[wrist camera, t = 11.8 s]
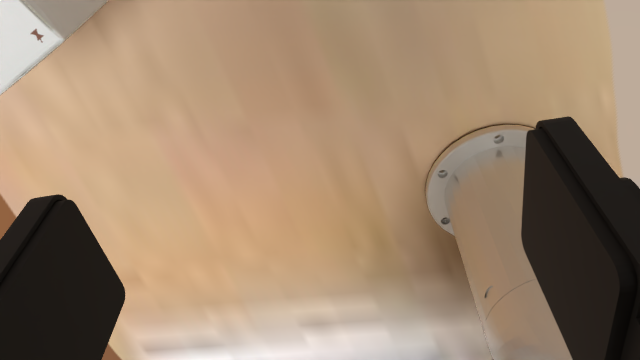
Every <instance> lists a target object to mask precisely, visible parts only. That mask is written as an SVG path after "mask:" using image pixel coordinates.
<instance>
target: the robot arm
mask: <svg viewBox="0 0 640 360" xmlns="http://www.w3.org/2000/svg"><path fill="white" fill-rule="evenodd" d="M425 195H426V200H427V205H428V208H429V211H430V213H431V215H432V217H433V218H434V220H435V221H436V223H437V224H438V225H439V226H440V227H441V228H442V229H444V230H445V231H447V232H448V233H450V234H452V235H454V236H455V238H456V241H457V245H458V248H459V251H460V255H461V258H462V261H463V265H464V268H465V271H466V275H467V278H468V281H469V284H470V288H471V291H472V294H473V298H474V301H475V304H476V308H477V311H478V314H479V318H480V321H481V324H482V327H483V331H484V334H485V337H486V340H487V344H488V347H489V350H490V353H491V355H492V358H493V360H640V189H639V187H638V186H637V185H636V184H635V183H634V182H633V181H632V180H631V179H628V178H619V177H618V176H617V174H616V173H615V172H614V171H613V169H612V168H611V167H610V165H609V164H608V163H607V162H606V160H605V159H604V158H603V157H602V155H601V154H600V153H599V151H598V150H597V149H596V148H595V146H594V145H593V144H592V142H591V141H590V140H589V139H588V137H587V136H586V135H585V134H584V132H583V131H582V130H581V128H580V127H579V126H578V125H577V123H576V122H575V121H574V119H572V118H571V117H563V118H556V119H550V120H543V121H539V122H538V123H537V125H536V129H534V128H530V127H526V126H522V125H499V126H491V127H488V128H484V129H480V130H477V131H475V132H473V133H470V134H468V135H466V136H464V137H462V138H461V139H459V140H458V141H456V142H455V143H453V144H452V145H451V146H450V147H448V148H447V149H446V150H445V151H444V152H443V153H442V154H441V155H440V156H439V158H438V159H437V160H436V162H435V163H434V165H433V167H432V168H431V170H430V172H429V175H428V178H427V182H426V194H425ZM124 300H125V290H124V286H123V284H122V282H121V281H120V279H119V277H118V275H117V274H116V272H115V270H114V269H113V267H112V265H111V264H110V262H109V260H108V258H107V257H106V255H105V253H104V252H103V250H102V248H101V246H100V245H99V243H98V241H97V240H96V238H95V236H94V235H93V233H92V231H91V229H90V228H89V226H88V224H87V223H86V221H85V219H84V217H83V216H82V214H81V212H80V211H79V209H78V207H77V206H76V204H75V203H74V202H73V201H72V200H67V199H66V198H65V197H64V196H63V195H52V196H45V197H39V198H34V199H31V200H30V201H29V202H28V203H27V204H26V206H25V207H24V208H23V210H22V211H21V212H20V214H19V215H18V217H17V218H16V219H15V221H14V222H13V223H12V225H11V226H10V228H9V229H8V230H7V232H6V233H5V235H4V236H3V237H2V238H1V240H0V360H101V359H102V357H103V354H104V352H105V349H106V347H107V344H108V342H109V339H110V337H111V334H112V332H113V329H114V327H115V324H116V321H117V319H118V316H119V314H120V311H121V309H122V306H123V304H124Z"/></svg>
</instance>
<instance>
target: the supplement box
mask: <svg viewBox="0 0 640 360" xmlns="http://www.w3.org/2000/svg"><path fill="white" fill-rule="evenodd" d="M108 1H109V0H0V95H1V94H3V93H4V92H5V91H6V90H7V89H9V88H10V87H11V86H12V85H14V84H15V83H16V82H17V81H19V80H20V79H21V78H22V77H23V76H25V75H26V74H27V73H28V72H29V71H31V70H32V69H33V68H34V67H35V66H37V65H38V64H39V63H40V62H41V61H42V60H44V59H45V58H46V57H47V56H48V55H50V54H51V53H52V52H53V51H54V50H55V49H56V48H58V47H59V46H60V45H61V44H62V43H63V42H64V41H65V40H66V39H67V38H69V37H70V36H71V35H72V34H73V33H74V32H75V31H76V30H77V29H78V28H80V27H81V26H82V25H83V24H84V23H85V22H86V21H87V20H88V19H89V18H90V17H91V16H92V15H94V14H95V13H96V12H97V11H98V10H99V9H100V8H101V7H102V6H103V5H104V4H106V3H107V2H108Z"/></svg>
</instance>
